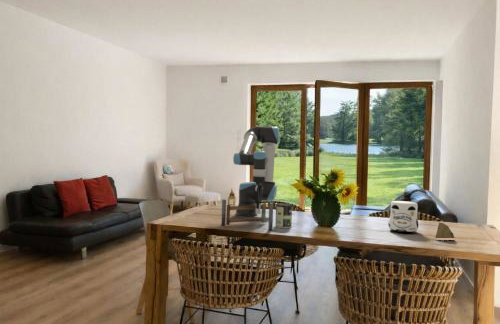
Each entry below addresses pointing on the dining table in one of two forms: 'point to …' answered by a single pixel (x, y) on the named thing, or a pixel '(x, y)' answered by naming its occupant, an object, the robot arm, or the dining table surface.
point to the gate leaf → (244, 209)
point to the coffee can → (283, 215)
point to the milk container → (403, 216)
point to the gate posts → (269, 214)
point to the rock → (444, 231)
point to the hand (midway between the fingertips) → (257, 213)
